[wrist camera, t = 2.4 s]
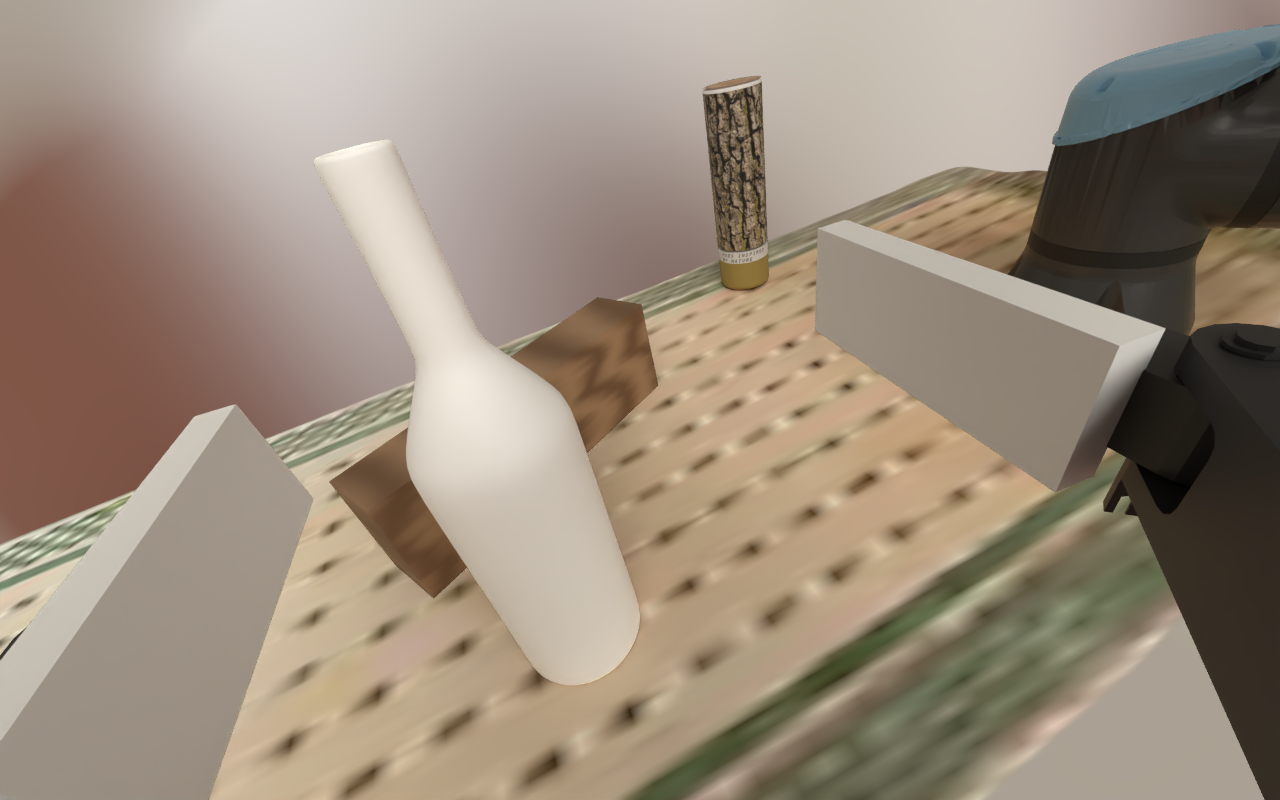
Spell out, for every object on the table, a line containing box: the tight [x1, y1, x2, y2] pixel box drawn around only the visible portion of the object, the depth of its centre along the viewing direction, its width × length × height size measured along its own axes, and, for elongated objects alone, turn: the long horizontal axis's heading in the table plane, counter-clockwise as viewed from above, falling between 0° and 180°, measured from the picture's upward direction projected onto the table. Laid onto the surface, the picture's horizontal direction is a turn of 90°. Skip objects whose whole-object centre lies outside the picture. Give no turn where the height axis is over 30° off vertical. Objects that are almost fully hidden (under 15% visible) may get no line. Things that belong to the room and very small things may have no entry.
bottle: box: [314, 139, 640, 686], centre depth 25 cm, size 8×8×30 cm
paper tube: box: [703, 76, 769, 290], centre depth 65 cm, size 7×7×25 cm
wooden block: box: [330, 298, 658, 598], centre depth 45 cm, size 30×6×10 cm, turn 143°
